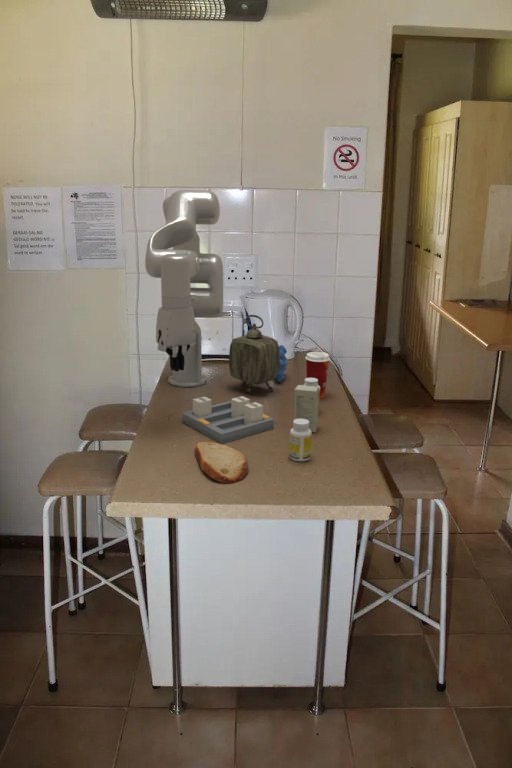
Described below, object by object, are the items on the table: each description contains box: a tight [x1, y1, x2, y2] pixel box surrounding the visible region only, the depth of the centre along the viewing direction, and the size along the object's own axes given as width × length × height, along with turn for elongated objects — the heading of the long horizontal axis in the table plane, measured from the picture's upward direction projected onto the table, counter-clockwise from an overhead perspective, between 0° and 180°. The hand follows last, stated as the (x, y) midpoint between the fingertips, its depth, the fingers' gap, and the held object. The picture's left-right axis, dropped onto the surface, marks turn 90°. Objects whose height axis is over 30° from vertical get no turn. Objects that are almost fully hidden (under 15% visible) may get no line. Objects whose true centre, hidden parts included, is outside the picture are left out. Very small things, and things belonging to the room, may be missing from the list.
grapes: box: [274, 344, 288, 383], centre depth 224 cm, size 12×7×12 cm, turn 171°
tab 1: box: [230, 395, 251, 418], centre depth 188 cm, size 3×4×6 cm
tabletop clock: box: [228, 314, 280, 393], centre depth 211 cm, size 14×9×25 cm, turn 53°
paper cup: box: [305, 351, 331, 400], centre depth 209 cm, size 8×8×14 cm
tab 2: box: [244, 401, 264, 425], centre depth 184 cm, size 3×4×6 cm
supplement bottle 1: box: [288, 419, 313, 462], centre depth 166 cm, size 5×5×10 cm
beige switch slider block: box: [192, 396, 212, 417], centre depth 187 cm, size 3×4×6 cm
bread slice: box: [194, 441, 250, 485], centre depth 162 cm, size 18×18×4 cm
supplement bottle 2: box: [303, 377, 321, 413], centre depth 196 cm, size 6×6×10 cm
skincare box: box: [293, 384, 320, 433], centre depth 183 cm, size 6×4×12 cm
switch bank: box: [181, 400, 275, 444], centre depth 186 cm, size 19×18×3 cm
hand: (177, 369), depth 178 cm, fingers closed
